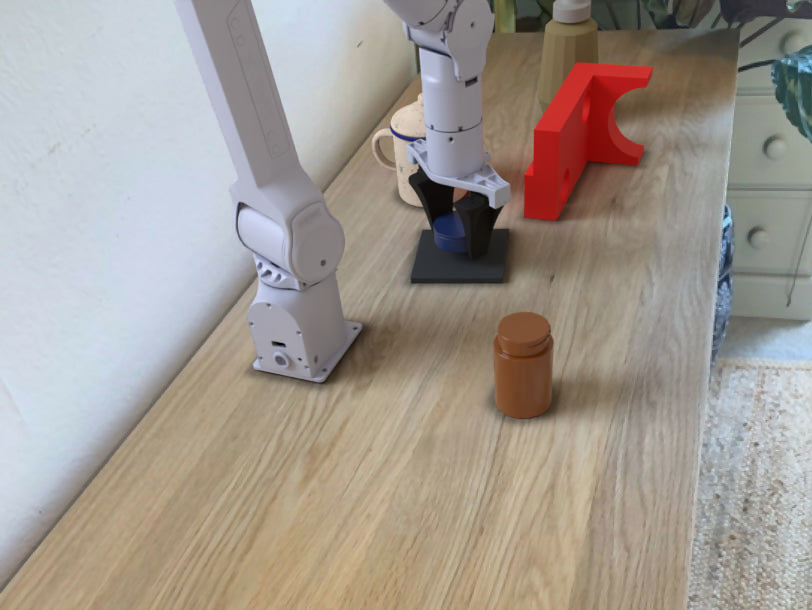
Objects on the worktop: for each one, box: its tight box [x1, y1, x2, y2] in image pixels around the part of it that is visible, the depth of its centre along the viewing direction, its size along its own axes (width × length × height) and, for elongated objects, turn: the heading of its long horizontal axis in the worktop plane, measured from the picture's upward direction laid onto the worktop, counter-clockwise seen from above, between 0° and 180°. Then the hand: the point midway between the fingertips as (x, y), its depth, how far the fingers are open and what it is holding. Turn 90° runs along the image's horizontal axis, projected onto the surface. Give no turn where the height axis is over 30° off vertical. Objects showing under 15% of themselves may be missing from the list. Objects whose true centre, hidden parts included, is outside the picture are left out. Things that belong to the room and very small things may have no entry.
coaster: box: [410, 228, 510, 284], centre depth 95 cm, size 10×10×1 cm
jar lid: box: [433, 209, 467, 253], centre depth 93 cm, size 6×6×2 cm
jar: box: [492, 311, 555, 419], centre depth 76 cm, size 5×5×8 cm
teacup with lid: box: [371, 91, 469, 208], centre depth 102 cm, size 12×9×12 cm
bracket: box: [523, 62, 654, 222], centre depth 100 cm, size 18×10×10 cm
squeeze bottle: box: [537, 0, 599, 115], centre depth 108 cm, size 8×8×18 cm
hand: (460, 244), depth 94 cm, fingers closed on jar lid, 6 cm apart
